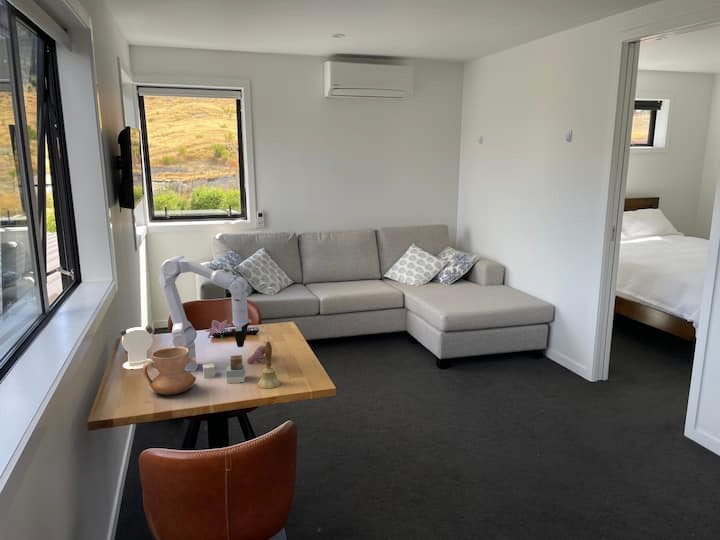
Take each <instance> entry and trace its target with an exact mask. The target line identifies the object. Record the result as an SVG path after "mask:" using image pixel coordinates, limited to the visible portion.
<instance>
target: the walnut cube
mask: <svg viewBox="0 0 720 540" xmlns="http://www.w3.org/2000/svg"><path fill="white" fill-rule="evenodd" d="M229 363H230V365H231V370H241V369H242V364H243V355H242V354H241V355H230V362H229Z"/></svg>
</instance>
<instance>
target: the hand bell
mask: <svg viewBox="0 0 720 540" xmlns="http://www.w3.org/2000/svg"><path fill="white" fill-rule="evenodd" d="M264 346H265V354H264V356H265V360H266V361H265V363H266V365H265V368H264V369H263V370H262V374H261V378H260V380H259V381H258V382H257V386H258V387H259V388H260V387H261V389H274V388H278V387H279V386H281V384H282V382H281V380H279V378H278V377H277V374H276V369H275V368H273V367H272V360H271V359H272V358H271V357H272V355H273V347H272V344H271V342H270V341H266V342H265V345H264Z"/></svg>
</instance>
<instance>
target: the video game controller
mask: <svg viewBox="0 0 720 540" xmlns="http://www.w3.org/2000/svg"><path fill="white" fill-rule="evenodd" d="M265 346H266V345H263V344H262V345H260V346H258V347H257V348H256V350H255V351H254V352H253V354H252V355H251V356H249V357H248V358H247V360H246V363H247V364H248V365H250V364H253V363H255V362H256V363H258V362H259V361H260V360H261V359H263V358H264V356H265Z"/></svg>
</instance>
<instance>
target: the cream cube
mask: <svg viewBox="0 0 720 540" xmlns="http://www.w3.org/2000/svg"><path fill="white" fill-rule="evenodd" d="M215 369H216V367H215V364H214V363H207V364H202V372H203V373H202V374H203V379H209V378H208V377H211V378H216V370H215Z"/></svg>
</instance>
